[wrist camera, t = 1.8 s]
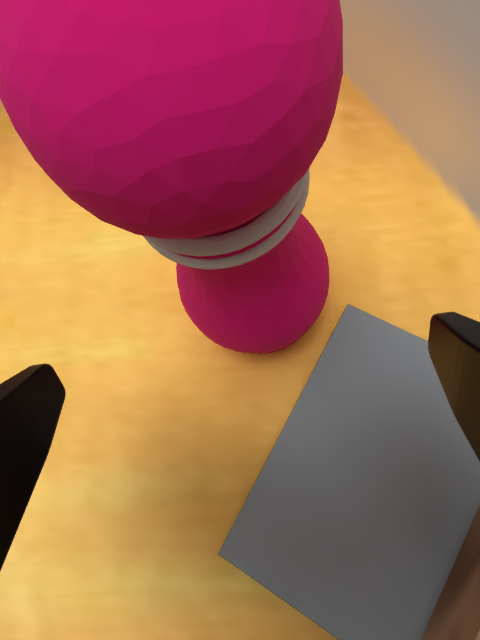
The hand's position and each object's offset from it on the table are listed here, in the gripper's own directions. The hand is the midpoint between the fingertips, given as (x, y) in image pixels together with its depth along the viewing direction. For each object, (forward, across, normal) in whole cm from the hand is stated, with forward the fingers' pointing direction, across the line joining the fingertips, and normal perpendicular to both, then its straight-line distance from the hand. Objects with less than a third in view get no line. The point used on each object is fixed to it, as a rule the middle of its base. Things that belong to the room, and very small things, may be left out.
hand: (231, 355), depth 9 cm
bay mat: (+5, -5, +13) cm, 15 cm away
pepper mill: (+13, 0, +6) cm, 14 cm away
